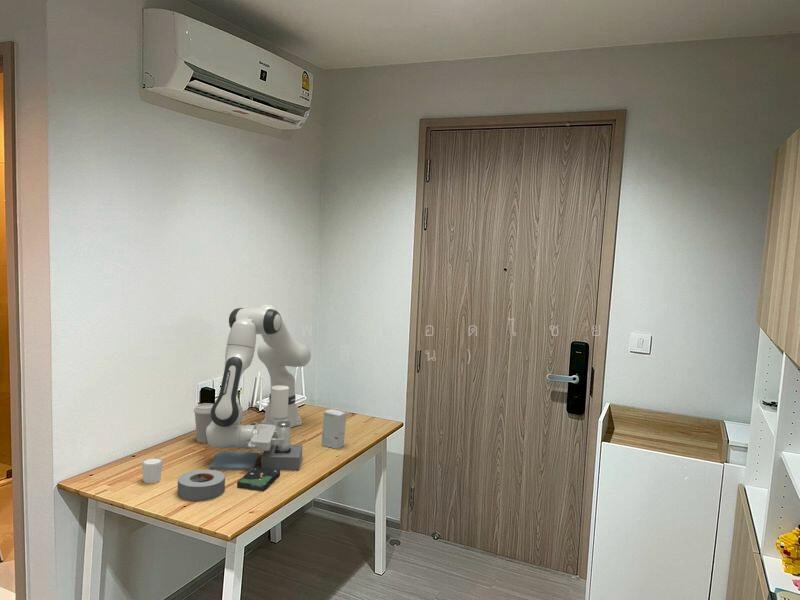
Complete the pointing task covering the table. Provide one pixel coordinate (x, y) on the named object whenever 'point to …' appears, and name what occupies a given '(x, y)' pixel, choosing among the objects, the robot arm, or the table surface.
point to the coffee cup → (202, 420)
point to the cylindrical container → (279, 404)
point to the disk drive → (258, 479)
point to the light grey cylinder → (152, 470)
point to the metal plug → (283, 436)
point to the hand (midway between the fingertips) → (285, 438)
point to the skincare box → (333, 428)
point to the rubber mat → (234, 460)
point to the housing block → (282, 458)
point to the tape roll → (201, 485)
